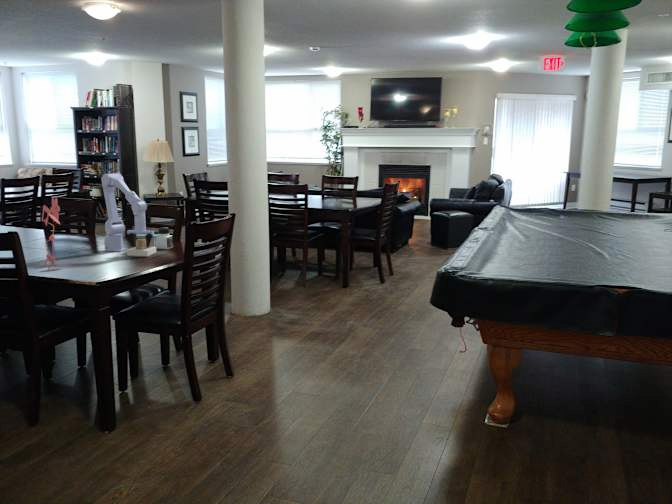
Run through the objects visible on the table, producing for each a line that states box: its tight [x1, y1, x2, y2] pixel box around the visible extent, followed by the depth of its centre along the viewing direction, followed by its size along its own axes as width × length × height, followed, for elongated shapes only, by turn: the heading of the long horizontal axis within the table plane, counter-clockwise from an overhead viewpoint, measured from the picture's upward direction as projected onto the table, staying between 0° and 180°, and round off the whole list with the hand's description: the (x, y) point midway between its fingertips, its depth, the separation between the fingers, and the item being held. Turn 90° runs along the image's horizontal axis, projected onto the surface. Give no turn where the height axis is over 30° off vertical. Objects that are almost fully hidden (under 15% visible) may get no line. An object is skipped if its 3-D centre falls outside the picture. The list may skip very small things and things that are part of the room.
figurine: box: [41, 196, 77, 271], centre depth 291 cm, size 15×26×35 cm, turn 39°
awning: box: [136, 233, 161, 247], centre depth 335 cm, size 13×7×10 cm, turn 85°
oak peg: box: [136, 238, 146, 249], centre depth 325 cm, size 4×4×8 cm
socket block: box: [125, 246, 157, 258], centre depth 326 cm, size 12×12×4 cm
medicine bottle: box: [155, 227, 174, 250], centre depth 345 cm, size 7×7×12 cm
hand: (141, 247), depth 325 cm, fingers open, 7 cm apart
